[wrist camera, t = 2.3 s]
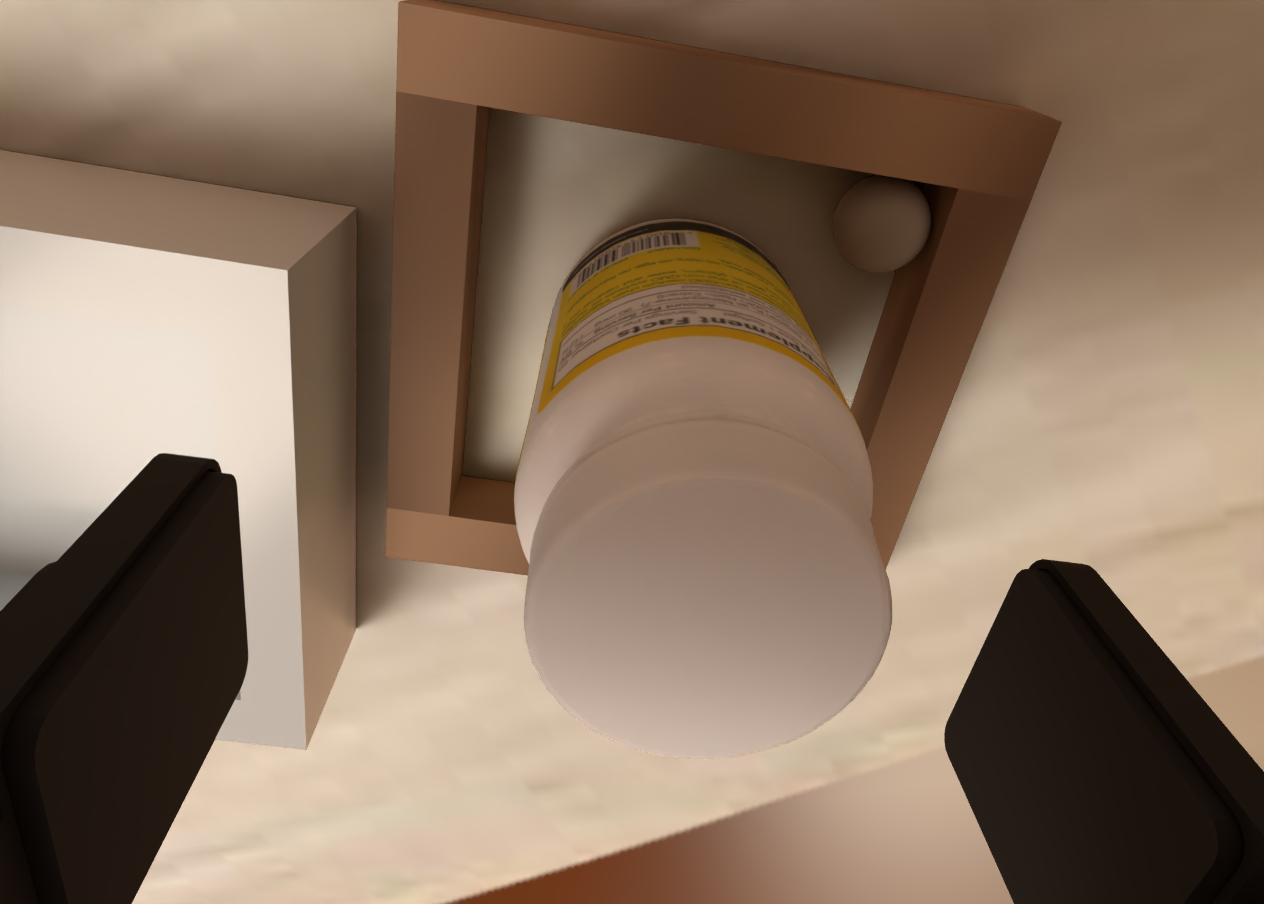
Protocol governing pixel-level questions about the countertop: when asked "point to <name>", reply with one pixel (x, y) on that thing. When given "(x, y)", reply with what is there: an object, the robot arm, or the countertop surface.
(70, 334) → the grey square open box
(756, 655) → the supplement bottle
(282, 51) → the countertop surface
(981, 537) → the countertop surface
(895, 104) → the tray
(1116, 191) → the countertop surface
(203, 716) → the robot arm
